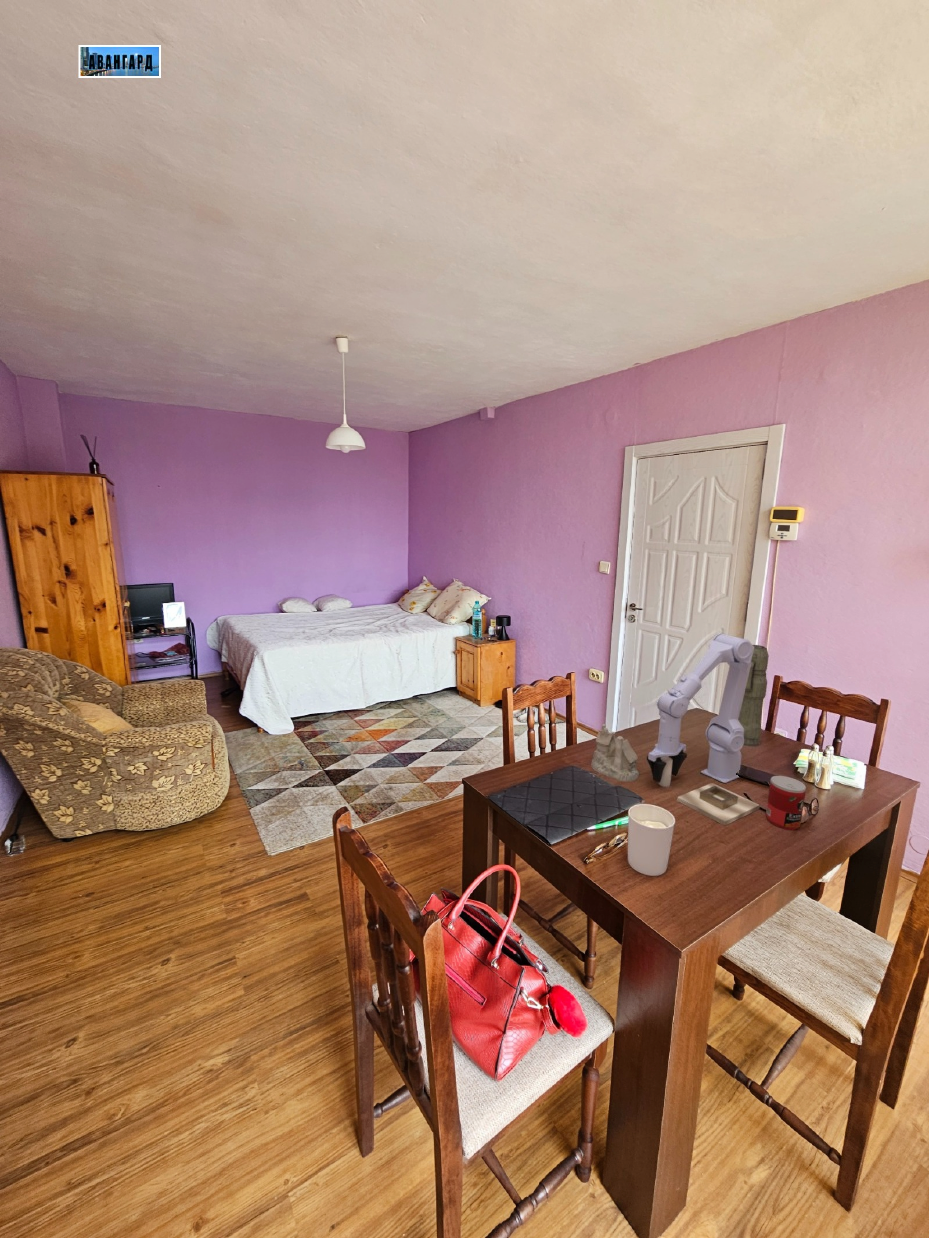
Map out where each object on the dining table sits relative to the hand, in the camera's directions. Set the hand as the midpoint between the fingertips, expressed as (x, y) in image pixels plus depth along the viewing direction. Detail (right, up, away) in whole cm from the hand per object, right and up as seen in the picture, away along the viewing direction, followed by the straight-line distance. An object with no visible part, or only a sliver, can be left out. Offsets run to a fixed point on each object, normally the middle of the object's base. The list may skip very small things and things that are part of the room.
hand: (664, 777), depth 153 cm
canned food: (+24, -6, -18) cm, 30 cm away
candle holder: (-18, -9, -36) cm, 41 cm away
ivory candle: (0, -2, 0) cm, 2 cm away
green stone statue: (+42, +3, +33) cm, 53 cm away
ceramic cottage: (-11, 0, +11) cm, 15 cm away
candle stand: (+10, -4, -11) cm, 15 cm away
